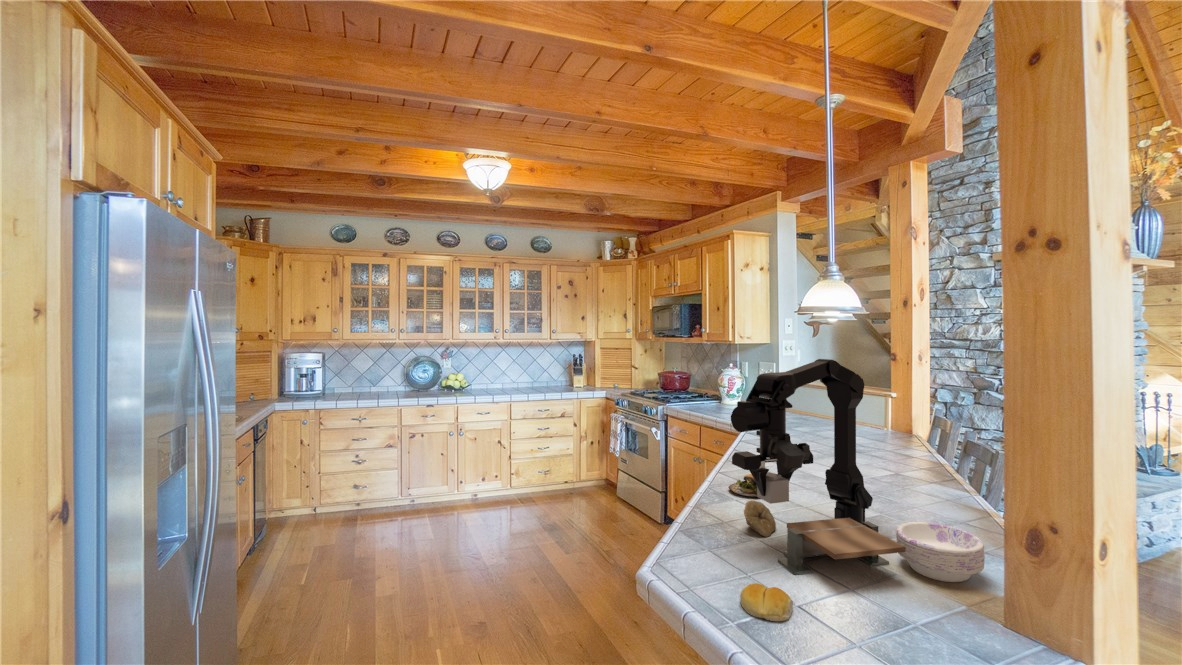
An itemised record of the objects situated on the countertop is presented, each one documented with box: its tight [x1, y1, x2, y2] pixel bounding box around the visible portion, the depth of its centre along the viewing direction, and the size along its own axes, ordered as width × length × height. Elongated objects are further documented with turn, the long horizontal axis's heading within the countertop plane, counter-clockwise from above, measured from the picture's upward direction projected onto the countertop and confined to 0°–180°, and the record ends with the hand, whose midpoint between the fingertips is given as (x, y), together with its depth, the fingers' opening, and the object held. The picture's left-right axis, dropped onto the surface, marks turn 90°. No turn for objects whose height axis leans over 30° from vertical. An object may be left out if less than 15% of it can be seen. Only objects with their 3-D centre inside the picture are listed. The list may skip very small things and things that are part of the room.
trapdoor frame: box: [777, 520, 890, 576], centre depth 111 cm, size 23×8×8 cm, turn 102°
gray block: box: [756, 471, 790, 504], centre depth 118 cm, size 5×5×6 cm
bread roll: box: [739, 583, 794, 622], centre depth 92 cm, size 8×9×4 cm
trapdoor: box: [786, 518, 906, 560], centre depth 107 cm, size 16×16×6 cm
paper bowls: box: [895, 521, 986, 583], centre depth 106 cm, size 15×15×8 cm
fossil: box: [743, 499, 777, 538], centre depth 128 cm, size 9×4×10 cm
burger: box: [728, 473, 757, 497], centre depth 157 cm, size 12×12×8 cm
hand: (772, 494), depth 118 cm, fingers closed on gray block, 5 cm apart
